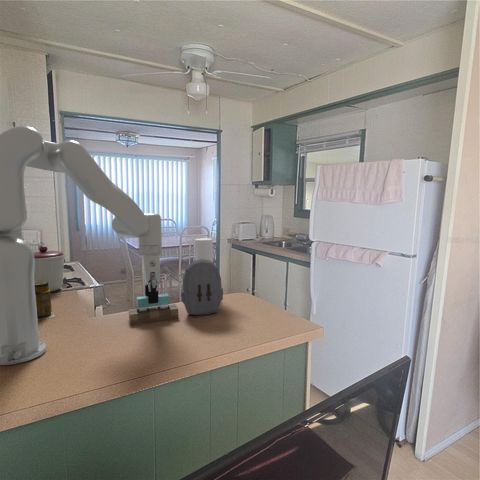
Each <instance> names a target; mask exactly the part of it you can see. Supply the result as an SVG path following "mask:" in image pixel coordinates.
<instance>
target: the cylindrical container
mask: <svg viewBox="0 0 480 480" xmlns="http://www.w3.org/2000/svg"><path fill="white" fill-rule="evenodd" d="M213 244H214V243H213V238H211V237H208V238H206V237H201V238H195V239H194V250H195V251H194V253H195V254H194V255H195V257H194V259H195V260H194V261H197V260H200V259H204V260H210V261H211V262H213V263H214V254H213V253H214V250H213V248H214V246H213Z"/></svg>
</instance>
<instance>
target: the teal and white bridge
mask: <svg viewBox="0 0 480 480" xmlns="http://www.w3.org/2000/svg"><path fill="white" fill-rule="evenodd" d="M168 305H170V296H169V293H162V294H158V303H153V304H149V303H148V296H145V295H144V296H136V306H137V308H139V313H140V312H147V307H153V306H159V308H160V310H164V309H168Z"/></svg>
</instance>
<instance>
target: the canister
mask: <svg viewBox="0 0 480 480" xmlns="http://www.w3.org/2000/svg"><path fill="white" fill-rule="evenodd" d="M33 253H34V260H35V266H34V283H38V282H47V283H48V284H49V285H48V286H49V290H50V293H51V292H55V291H58V290H60V289H61V288H62V286H63V281H64V269H65V268H64V265H65V256H66V253H64V252H63V251H59V250H48V246H46V245H40V246H39V247H38V251H33Z"/></svg>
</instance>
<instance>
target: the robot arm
mask: <svg viewBox="0 0 480 480" xmlns="http://www.w3.org/2000/svg"><path fill="white" fill-rule="evenodd" d="M26 167H29V168H34V169H39V170H43V171H47V172H48V171H49V172H55V173H62V174H63V173H66V175H67V176H68V177H69V178H70V180H71V181H72V182H73V183H74V184H75V186H76V187H78V189H79V190H80V191H81V192H82V194H83V195H84V196H85V197H86V198H87V199H88V200H90V201H92V202H93V203H95V204H97V205H98V206H101V207H103V208H104V209H105V210H107V211H108V212H109V213H111V214H112V215H113V219H112V222H111V227H112V228H111V229H112V230H113V232H115V233H116V234H117V235H118V236H121V237H130V238H138V255H139V256H142V272H143V280H144V293H145V295H144V296H148V303H149V304H153V303H158V295H159V289H158V285H161V284H162V277H161V275H162V273H161V262H160V260H161V259H160V255H162V254H163V250H162V249H163V247H162V246H163V244H162V243H163V241H162V239H163V238H162V217H161V214H159V213H144V212H143V210H142V209H141V208H140V207H139V205H138V204H137V203H136V202H135V201H134V200H133V198H132V197H130V195H128V194H127V193H126V192H124V191H123V190H122V189H121V188H120V187H119V186H118V185H116V184H115V183H114V182H113V181H111V180H110V178H109V176H108V175H107V174H106V173H105V172H104V171H103V169H102V168H101V167H100V166H99V164H98V162H96V160H95V159H94V158H93V157H92V155H91V154H90V153H89V152H88V151H87V149H86V148H85V147H84V146H83V145H82V144H81V143H80V142H78V141H76V140H65V141H61V142H57V143H56V142H52V141H46V140H44V138H43V136H42V134H41V133H40V132H39V131H38V130H37V129H35V128H34V127H31V126H26V125H20V126H15V127H14V126H13V127H12V128H9V129H7V130H5V131H3V132H1V133H0V366H10V365H11V366H12V365H18V364H21V363H26V362H28V361H29V362H30V361H31V360H33V359H36V358H39V357H40V356H42V355H43V354H44V353H45V352H46V351H47V345H46V343H45V342H42V341H40V336H39V335H40V334H39V323H38V321H39V320H37V308H36V296H35V284H34V266H35V260H34V253H33V252H34V250H33V249H32V247H31V245H30V244H29V243H28V242H26V241H25V240H24V239H23V232H22V231H23V229H22V227H23V226H24V225H25V224H26V222H27V220H28V219H27V218H28V211H27V204H26V203H27V202H26V196H25V182H24V181H25V180H24V179H25V177H24V176H25V169H26Z"/></svg>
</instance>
